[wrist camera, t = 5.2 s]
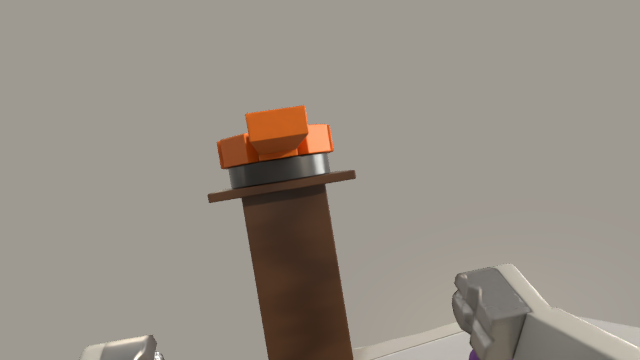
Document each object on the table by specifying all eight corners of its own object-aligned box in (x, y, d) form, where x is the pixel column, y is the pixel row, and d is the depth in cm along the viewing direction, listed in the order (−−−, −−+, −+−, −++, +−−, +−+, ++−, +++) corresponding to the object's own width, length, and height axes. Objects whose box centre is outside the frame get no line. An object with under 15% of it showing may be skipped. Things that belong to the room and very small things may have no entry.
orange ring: (178, 163, 16) (169, 114, 16) (229, 170, 34) (225, 147, 34) (378, 132, 17) (371, 85, 17) (324, 155, 35) (321, 132, 35)
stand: (256, 593, 25) (184, 172, 24) (261, 475, 35) (210, 173, 34) (432, 543, 27) (368, 143, 26) (389, 443, 37) (342, 152, 36)
